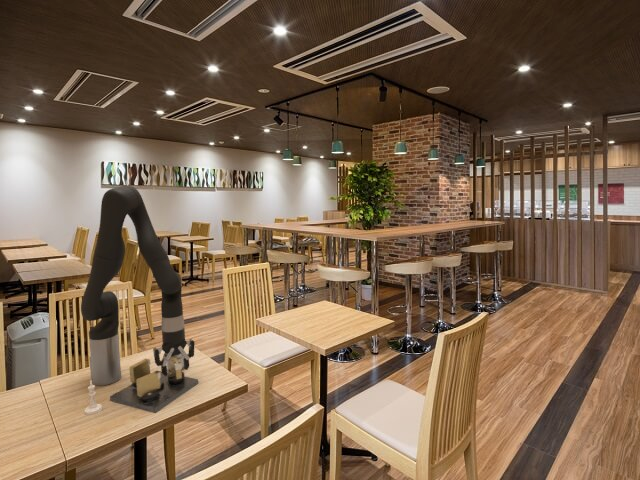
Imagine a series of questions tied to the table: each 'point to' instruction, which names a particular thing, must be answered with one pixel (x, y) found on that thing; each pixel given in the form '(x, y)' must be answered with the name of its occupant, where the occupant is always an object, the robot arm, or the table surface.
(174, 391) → the plate
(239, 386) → the table surface
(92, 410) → the chess piece
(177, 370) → the knob
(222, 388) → the table surface
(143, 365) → the knob
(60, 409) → the table surface
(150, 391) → the knob
